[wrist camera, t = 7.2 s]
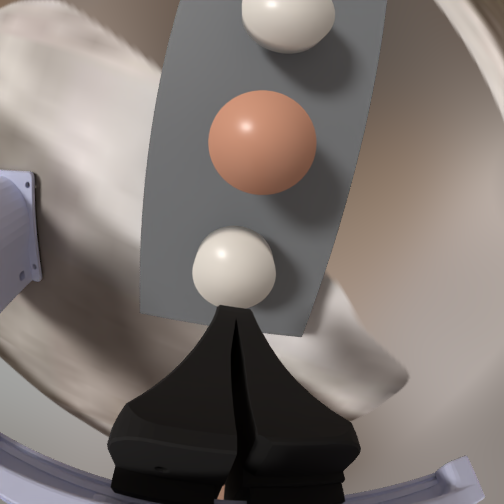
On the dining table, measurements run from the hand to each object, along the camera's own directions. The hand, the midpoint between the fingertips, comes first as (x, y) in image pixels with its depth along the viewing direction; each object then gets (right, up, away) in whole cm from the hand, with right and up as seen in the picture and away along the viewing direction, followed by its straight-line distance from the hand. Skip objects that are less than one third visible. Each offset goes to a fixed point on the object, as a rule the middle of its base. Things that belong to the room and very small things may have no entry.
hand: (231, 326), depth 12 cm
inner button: (0, +3, +6) cm, 7 cm away
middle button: (+1, +8, +2) cm, 9 cm away
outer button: (+3, +15, +1) cm, 16 cm away
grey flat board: (+1, +10, +6) cm, 12 cm away
